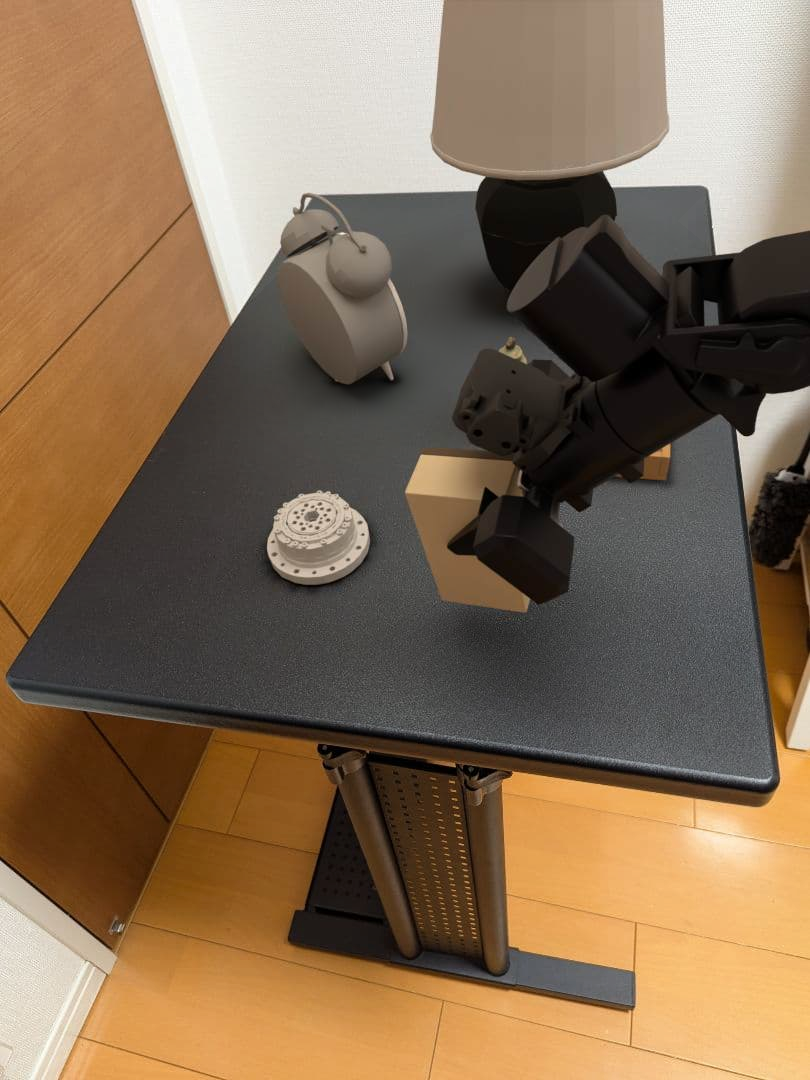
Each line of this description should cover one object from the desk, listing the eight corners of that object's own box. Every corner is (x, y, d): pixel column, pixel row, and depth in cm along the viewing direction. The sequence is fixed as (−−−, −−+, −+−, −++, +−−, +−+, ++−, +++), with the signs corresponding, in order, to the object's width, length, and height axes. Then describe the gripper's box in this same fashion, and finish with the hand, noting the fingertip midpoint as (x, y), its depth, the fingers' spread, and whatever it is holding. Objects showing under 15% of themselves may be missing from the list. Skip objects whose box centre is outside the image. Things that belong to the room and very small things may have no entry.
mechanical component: (299, 504, 80) (251, 573, 74) (290, 472, 77) (239, 542, 71) (386, 523, 77) (344, 597, 71) (380, 491, 74) (335, 566, 68)
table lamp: (628, 362, 91) (679, -59, 62) (414, 338, 99) (372, -42, 71) (660, 254, 108) (713, -118, 79) (475, 241, 116) (461, -98, 87)
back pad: (457, 557, 64) (424, 446, 55) (539, 567, 62) (520, 452, 52) (441, 600, 62) (404, 492, 52) (526, 613, 59) (503, 501, 50)
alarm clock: (421, 386, 92) (401, 203, 76) (362, 418, 89) (329, 234, 73) (345, 334, 102) (313, 163, 86) (290, 361, 99) (246, 188, 83)
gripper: (551, 248, 50) (405, 382, 60) (508, 430, 37) (334, 558, 48) (663, 357, 53) (507, 465, 64) (656, 555, 41) (465, 648, 52)
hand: (458, 524), depth 57 cm, fingers closed on back pad, 5 cm apart
